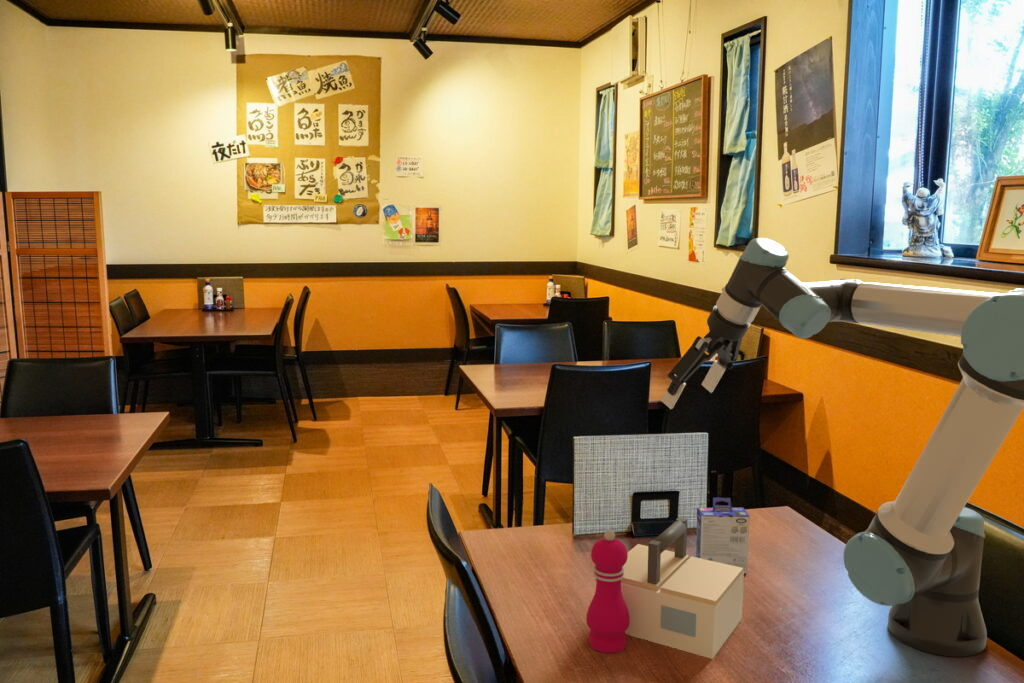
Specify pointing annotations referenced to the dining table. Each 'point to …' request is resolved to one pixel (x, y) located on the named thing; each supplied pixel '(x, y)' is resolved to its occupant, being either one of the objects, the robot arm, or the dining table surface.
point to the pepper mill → (608, 596)
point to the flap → (657, 558)
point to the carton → (688, 607)
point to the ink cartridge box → (723, 534)
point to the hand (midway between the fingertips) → (687, 396)
